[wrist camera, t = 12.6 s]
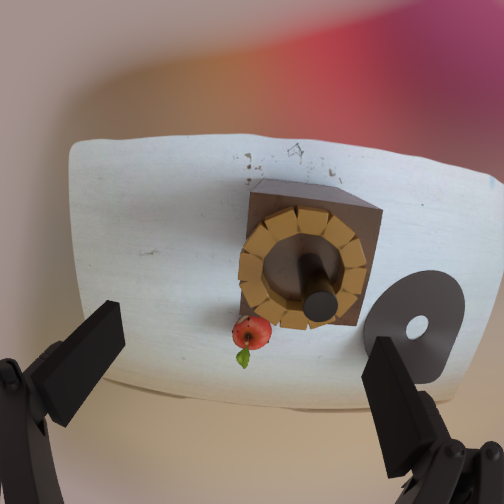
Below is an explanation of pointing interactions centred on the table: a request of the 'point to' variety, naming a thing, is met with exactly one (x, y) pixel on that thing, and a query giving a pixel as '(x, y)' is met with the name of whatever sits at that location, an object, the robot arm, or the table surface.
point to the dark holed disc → (415, 304)
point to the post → (316, 289)
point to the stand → (311, 237)
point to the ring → (284, 227)
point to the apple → (250, 336)
